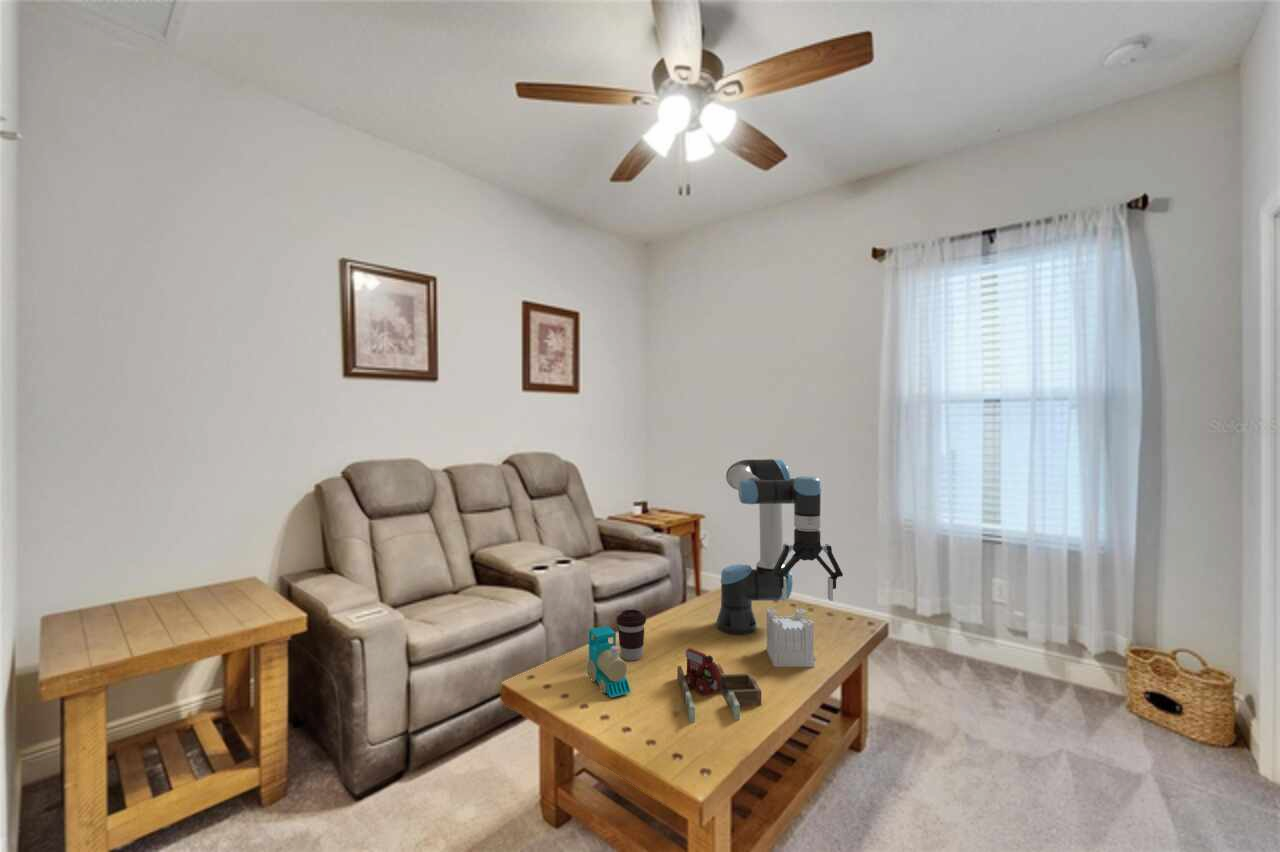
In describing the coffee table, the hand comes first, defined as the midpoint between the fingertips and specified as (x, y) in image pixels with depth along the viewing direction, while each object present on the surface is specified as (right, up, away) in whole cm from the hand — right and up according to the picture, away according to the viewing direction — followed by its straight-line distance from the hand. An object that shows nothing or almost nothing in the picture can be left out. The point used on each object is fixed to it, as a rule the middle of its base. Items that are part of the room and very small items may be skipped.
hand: (807, 599), depth 163 cm
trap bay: (-21, -27, -5) cm, 34 cm away
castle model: (+1, -26, +20) cm, 33 cm away
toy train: (-60, -27, +2) cm, 66 cm away
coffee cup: (-53, -27, +22) cm, 63 cm away
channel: (-31, -27, -6) cm, 41 cm away
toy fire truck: (-31, -27, 0) cm, 41 cm away
